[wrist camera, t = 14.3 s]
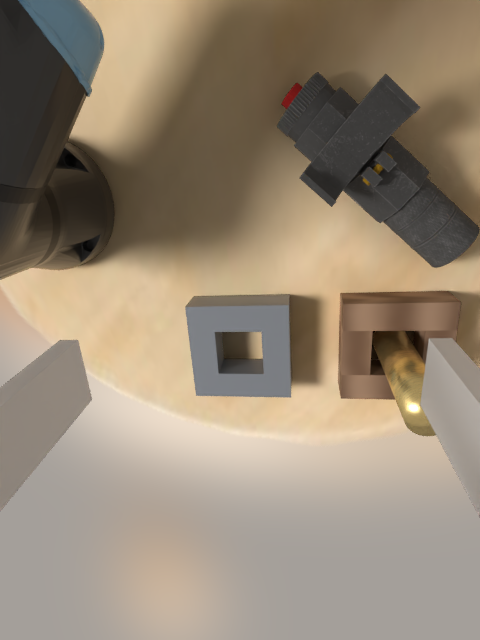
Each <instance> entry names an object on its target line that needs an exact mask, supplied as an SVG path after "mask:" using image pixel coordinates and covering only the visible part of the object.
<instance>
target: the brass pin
mask: <svg viewBox="0 0 480 640" xmlns="http://www.w3.org/2000/svg"><path fill="white" fill-rule="evenodd" d="M372 342H373V346H374V348H375V350H376V353H377V355H378V358H379V360H380V363H381V365H382V368H383V370H384V373H385V375H386V377H387V380H388V382H389V385H390V387H391V390H392V392H393V395H394V397H395V399H396V402H397V404H398V407H399V409H400V412H401V414H402V417H403V419H404V422H405V424H406V426H407V427H408V428H409V429H410V430H411V431H412V432H414V433H416V434H418V435H422V436H434V435H436V434H435V432H434V430H433V428H432V426H431V424H430V422H429V420H428V419H427V417H426V415H425V413H424V411H423V409H422V407H421V405H420V402H421V395H422V387H423V380H424V372H425V363H424V361H423V360H422V358H421V356H420V355H419V353H418V352H417V350H416V349H415V347H414V345H413V344H412V342H411V341H410V339H409V337H408V336H407V334H406V333H405V331H376V332H375V333H374V335H373V339H372Z"/></svg>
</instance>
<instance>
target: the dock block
mask: <svg viewBox="0 0 480 640" xmlns="http://www.w3.org/2000/svg"><path fill="white" fill-rule="evenodd" d="M460 308H461V302H460V301H459V300H458V299H457V298H456V297H454V296H453V295H452V294H451V293H450V292H449V291H428V292H380V293H340V326H339V365H338V384H339V390H340V395H341V398H348V399H395V397H394V395H393V392H392V390H391V387H390V385H389V382H388V380H387V377H386V375H385V373H384V370H383V368H382V365H381V363H380V360H371V349H372V331H415V332H414V342H413V345H414V347H415V349H416V350H417V352H418V353H419V355H420V356H421V358H422V360H423V361H424V363H425V364H426V357H427V349H428V342H429V338H452V339H453V340H454V341H455V342H456V336H457V329H458V322H459V315H460Z"/></svg>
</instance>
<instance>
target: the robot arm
mask: <svg viewBox="0 0 480 640" xmlns="http://www.w3.org/2000/svg"><path fill="white" fill-rule="evenodd" d="M103 51H104V38H103V34H102V30H101V28H100V26H99V24H98V22H97V21H96V19H95V18H94V16H93V15H92V14H91V13H90V12H89V10H88V9H87V8H86V7H85V6H84V5H83V4H82V3H81V2H80V1H79V0H0V280H1V279H4V278H6V277H9V276H11V275H14V274H17V273H19V272H22V271H24V270H27V269H29V268H39V269H49V270H64V269H70V268H74V267H77V266H79V265H81V264H83V263H86V262H88V261H90V260H91V259H93V258H94V257H96V256H97V255H98V254H99V253H100V252H101V251H102V250H103V248H104V247H105V246H106V244H107V242H108V240H109V238H110V235H111V233H112V229H113V224H114V204H113V199H112V195H111V191H110V188H109V186H108V183H107V181H106V179H105V177H104V175H103V174H102V172H101V170H100V169H99V167H98V166H97V165H96V164H95V162H94V161H93V160H92V159H91V158H90V157H89V156H88V155H87V154H86V153H85V152H83V151H82V150H81V149H79V148H78V147H76V146H75V145H73V144H71V143H69V142H67V140H68V138H69V135H70V133H71V131H72V128H73V126H74V124H75V122H76V119H77V117H78V115H79V112H80V110H81V108H82V105H83V103H84V101H85V99H86V96H88V97H90V95H91V92H92V89H91V84H92V81H93V79H94V76H95V74H96V71H97V68H98V66H99V63H100V60H101V58H102V55H103ZM91 400H92V397H91V393H90V389H89V385H88V380H87V376H86V372H85V367H84V363H83V359H82V355H81V350H80V346H79V342H78V340H60V341H58V342H57V343H56V344H54V345H53V346H52V347H51V348H50V349H48V350H47V351H46V352H44V353H43V354H42V355H41V356H39V357H38V358H37V359H36V360H34V361H33V362H32V363H31V364H29V365H28V366H27V367H26V368H24V369H23V370H22V371H20V372H19V373H18V374H17V375H15V376H14V377H13V378H12V379H10V380H9V381H8V382H7V383H5V384H4V385H3V386H1V387H0V511H1V510H2V509H3V508H4V506H5V505H6V504H7V503H8V501H9V500H10V499H11V498H12V497H13V495H14V494H15V493H16V492H17V491H18V489H19V488H20V487H21V486H22V484H23V483H24V482H25V480H26V479H27V478H28V477H29V476H30V475H31V473H32V472H33V471H34V470H35V469H36V467H37V466H38V465H39V464H40V462H41V461H42V460H43V459H44V458H45V456H46V455H47V454H48V453H49V451H50V450H51V449H52V448H53V447H54V445H55V444H56V443H57V442H58V440H59V439H60V438H61V437H62V436H63V434H64V433H65V432H66V431H67V429H68V428H69V427H70V426H71V425H72V423H73V422H74V421H75V420H76V419H77V417H78V416H79V415H80V414H81V412H82V411H83V410H84V409H85V407H86V406H87V405H88V404H89V403H90V401H91ZM420 405H421V407H422V409H423V411H424V413H425V415H426V417H427V419H428V420H429V422H430V424H431V426H432V428H433V430H434V432H435V434H436V435H437V437H438V439H439V441H440V443H441V445H442V447H443V449H444V451H445V453H446V454H447V456H448V458H449V460H450V462H451V464H452V466H453V468H454V470H455V472H456V474H457V475H458V477H459V479H460V481H461V483H462V485H463V487H464V488H465V490H466V492H467V494H468V496H469V498H470V500H471V502H472V504H473V506H474V507H475V510H476V511H477V513H478V515H479V517H480V369H479V367H478V366H477V365H476V364H475V363H474V362H473V361H472V360H471V359H470V357H469V356H468V355H467V354H466V353H465V352H464V351H463V350H462V349H461V347H460V346H459V345H458V344H457V343H456V342H455V341H454V340H453V339H452V338H429V342H428V349H427V357H426V364H425V372H424V380H423V387H422V395H421V402H420Z"/></svg>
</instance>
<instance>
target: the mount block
mask: <svg viewBox="0 0 480 640" xmlns="http://www.w3.org/2000/svg"><path fill="white" fill-rule="evenodd" d="M185 308H186V316H187V325H188V333H189V341H190V349H191V357H192V365H193V373H194V382H195V390H196V396H244V397H291V382H292V379H291V334H290V294H285V295H238V296H194V297H193V298H192V299H191V301H190V302H189V303H188V304H187V305H186V307H185ZM222 332H262V349H263V359H224V350H223V338H222Z"/></svg>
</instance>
